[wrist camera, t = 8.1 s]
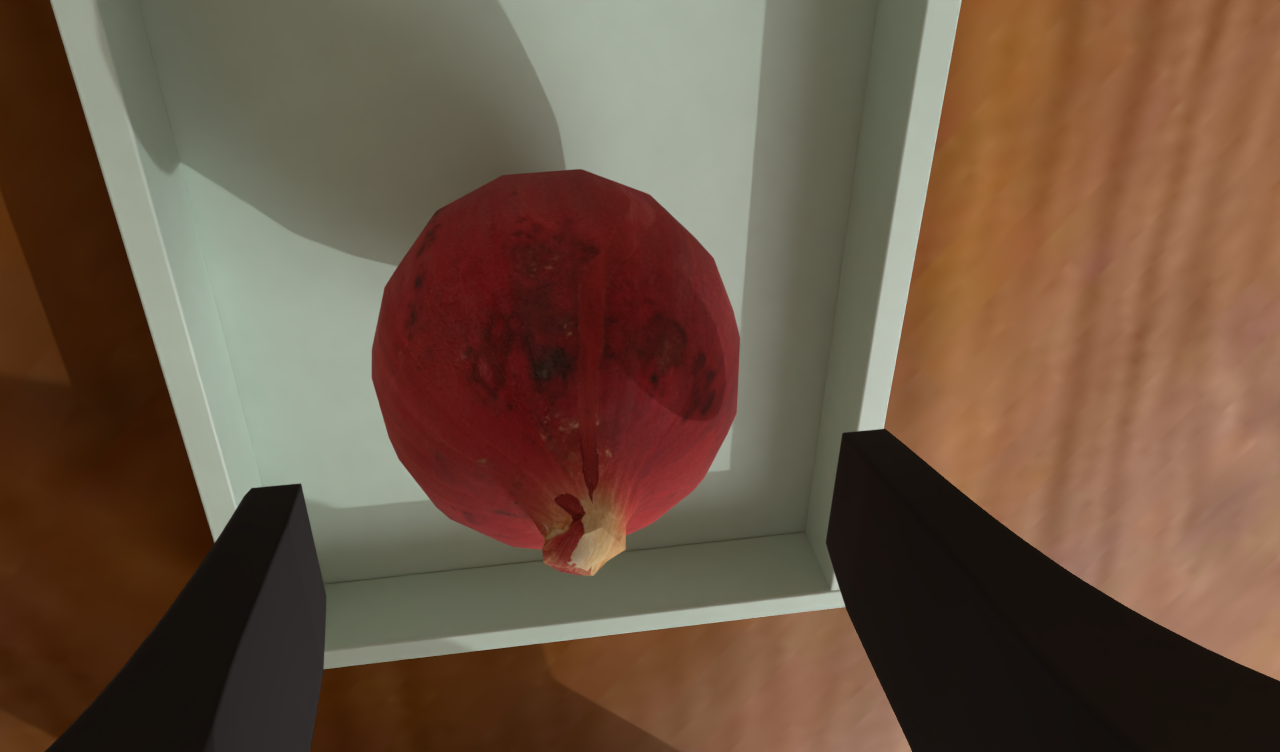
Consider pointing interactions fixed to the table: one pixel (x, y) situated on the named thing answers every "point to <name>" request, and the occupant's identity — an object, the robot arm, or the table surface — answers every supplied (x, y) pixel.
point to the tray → (462, 162)
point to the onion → (556, 363)
